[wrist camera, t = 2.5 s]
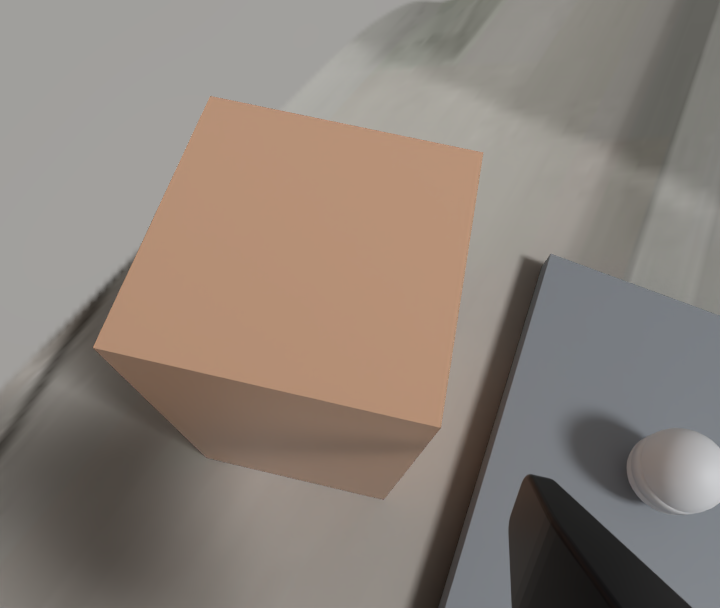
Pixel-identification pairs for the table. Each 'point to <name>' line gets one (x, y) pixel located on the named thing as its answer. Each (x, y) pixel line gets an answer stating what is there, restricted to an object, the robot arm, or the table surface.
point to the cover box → (300, 295)
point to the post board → (605, 432)
